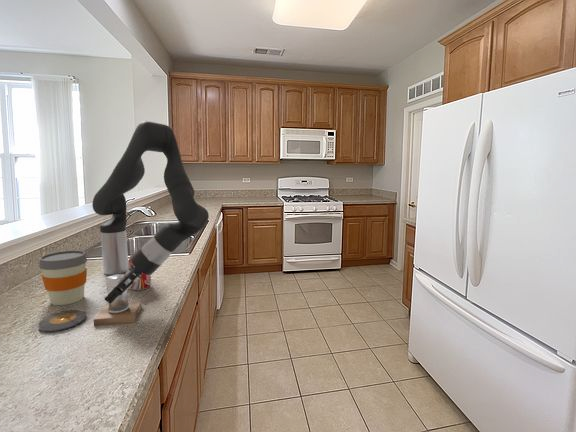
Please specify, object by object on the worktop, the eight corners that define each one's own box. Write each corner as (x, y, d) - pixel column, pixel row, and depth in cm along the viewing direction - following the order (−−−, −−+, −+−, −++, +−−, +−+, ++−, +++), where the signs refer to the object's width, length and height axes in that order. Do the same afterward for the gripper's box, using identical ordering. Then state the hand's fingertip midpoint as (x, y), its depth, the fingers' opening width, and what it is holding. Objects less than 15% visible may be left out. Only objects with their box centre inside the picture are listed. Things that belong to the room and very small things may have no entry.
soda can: (143, 292, 109) (140, 259, 107) (125, 290, 111) (122, 258, 109) (155, 285, 116) (153, 253, 114) (138, 283, 118) (136, 252, 116)
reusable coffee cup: (61, 310, 95) (56, 263, 93) (34, 303, 99) (28, 258, 97) (98, 295, 107) (95, 252, 104) (73, 289, 111) (68, 248, 109)
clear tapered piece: (111, 306, 94) (109, 274, 92) (131, 305, 95) (129, 273, 93) (105, 314, 88) (102, 281, 87) (126, 313, 90) (123, 279, 88)
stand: (106, 310, 96) (105, 303, 95) (141, 307, 98) (141, 301, 98) (94, 326, 86) (93, 319, 86) (133, 322, 88) (132, 316, 88)
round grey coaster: (51, 315, 92) (51, 311, 92) (93, 311, 94) (92, 307, 94) (30, 334, 81) (29, 330, 81) (77, 330, 84) (77, 325, 84)
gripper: (147, 240, 97) (108, 280, 96) (136, 253, 83) (89, 299, 83) (166, 256, 99) (128, 295, 98) (158, 271, 85) (113, 316, 85)
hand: (110, 296), depth 91 cm, fingers closed on clear tapered piece, 5 cm apart
